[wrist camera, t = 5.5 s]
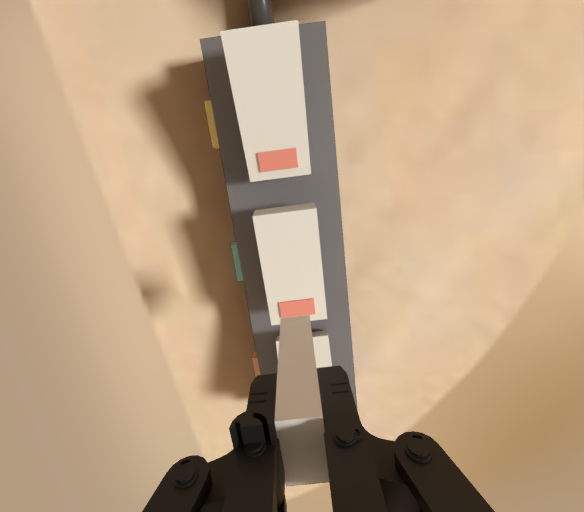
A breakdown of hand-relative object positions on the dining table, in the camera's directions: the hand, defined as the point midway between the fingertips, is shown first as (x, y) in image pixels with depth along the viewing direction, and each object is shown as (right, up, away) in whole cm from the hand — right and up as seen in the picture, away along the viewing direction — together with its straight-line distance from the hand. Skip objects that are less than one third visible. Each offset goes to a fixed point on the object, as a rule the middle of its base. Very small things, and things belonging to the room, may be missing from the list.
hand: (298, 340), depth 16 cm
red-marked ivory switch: (-2, +13, +3) cm, 14 cm away
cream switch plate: (0, +4, +5) cm, 6 cm away
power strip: (-1, +8, +10) cm, 13 cm away
